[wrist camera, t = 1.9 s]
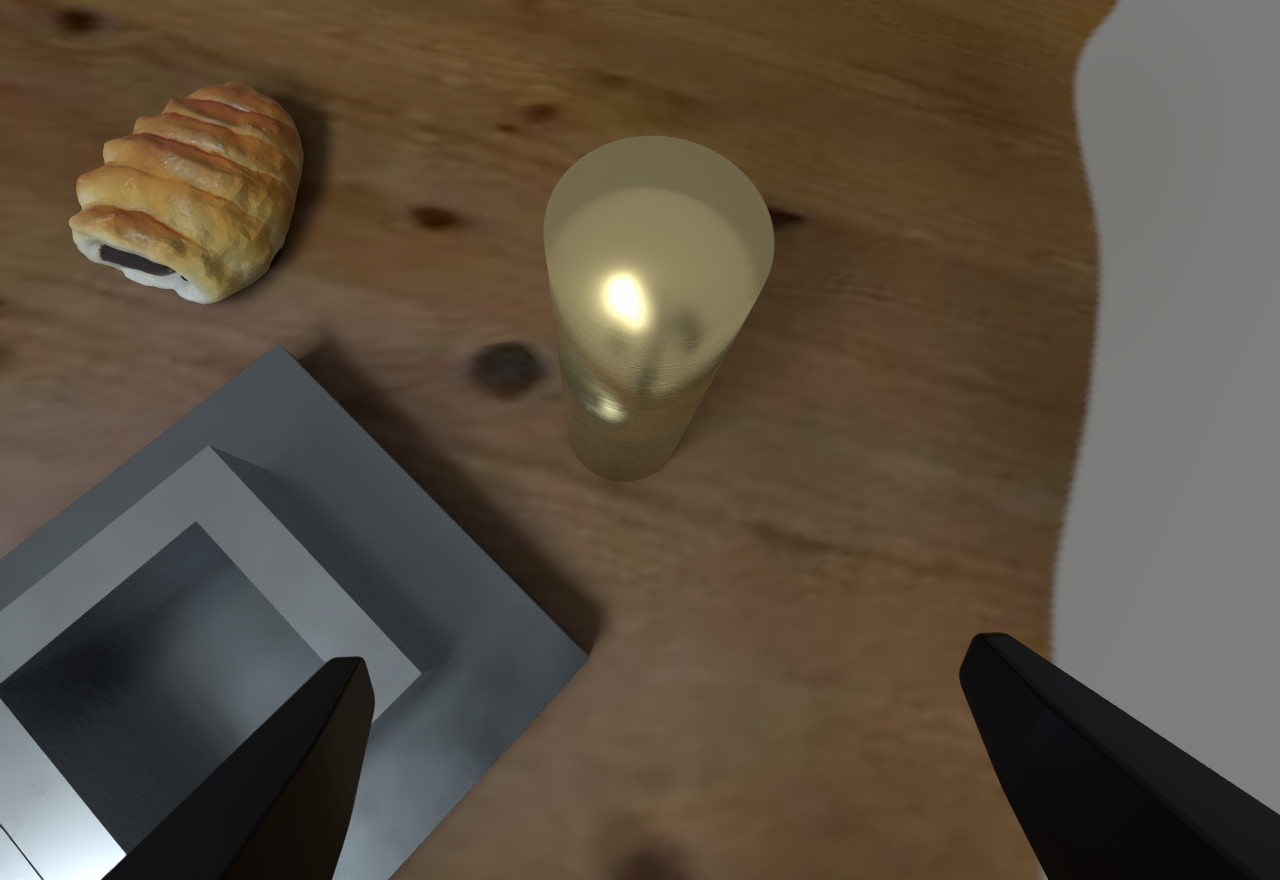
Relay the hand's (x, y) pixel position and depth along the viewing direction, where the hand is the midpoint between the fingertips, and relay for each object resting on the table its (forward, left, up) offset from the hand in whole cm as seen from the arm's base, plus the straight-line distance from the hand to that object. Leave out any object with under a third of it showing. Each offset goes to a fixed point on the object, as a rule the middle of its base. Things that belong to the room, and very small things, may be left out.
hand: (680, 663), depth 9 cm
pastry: (+24, 0, -14) cm, 28 cm away
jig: (+8, +10, -14) cm, 19 cm away
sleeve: (+5, -5, -14) cm, 16 cm away
